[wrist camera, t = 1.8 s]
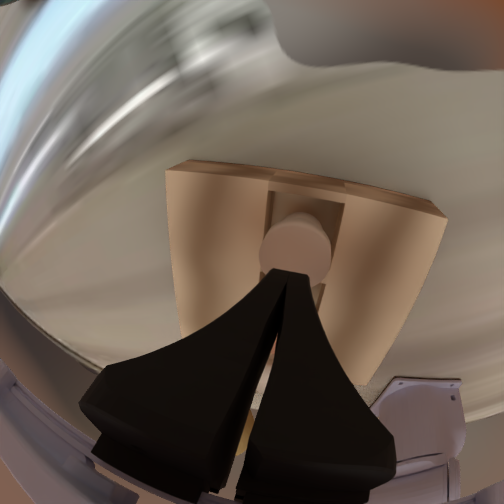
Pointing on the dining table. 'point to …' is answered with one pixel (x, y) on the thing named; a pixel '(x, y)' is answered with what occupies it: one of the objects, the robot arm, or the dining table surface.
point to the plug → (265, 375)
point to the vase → (6, 2)
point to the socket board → (340, 236)
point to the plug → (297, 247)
